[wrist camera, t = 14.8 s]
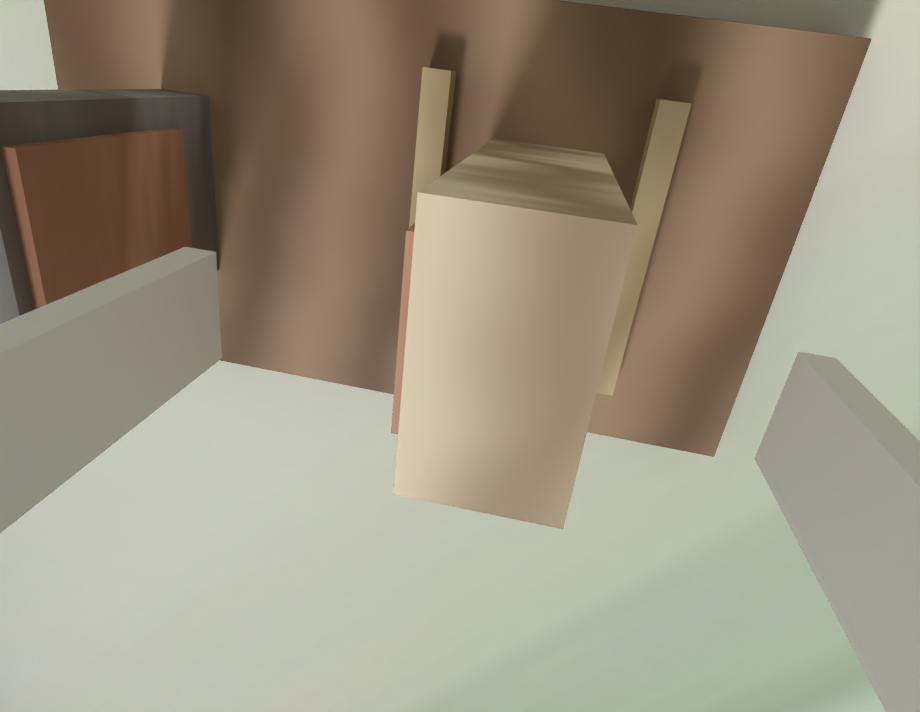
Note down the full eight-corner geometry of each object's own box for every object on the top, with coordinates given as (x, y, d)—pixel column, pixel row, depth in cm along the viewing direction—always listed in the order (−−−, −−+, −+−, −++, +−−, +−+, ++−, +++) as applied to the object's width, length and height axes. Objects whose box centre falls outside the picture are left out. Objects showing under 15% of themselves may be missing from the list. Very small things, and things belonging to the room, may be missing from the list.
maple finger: (461, 313, 25) (376, 490, 14) (483, 137, 22) (396, 188, 11) (566, 331, 24) (562, 529, 13) (604, 153, 21) (637, 225, 10)
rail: (119, 325, 30) (-121, 452, 19) (65, -55, 23) (-354, -170, 12) (706, 438, 27) (791, 659, 16) (851, 41, 20) (1155, -5, 9)
